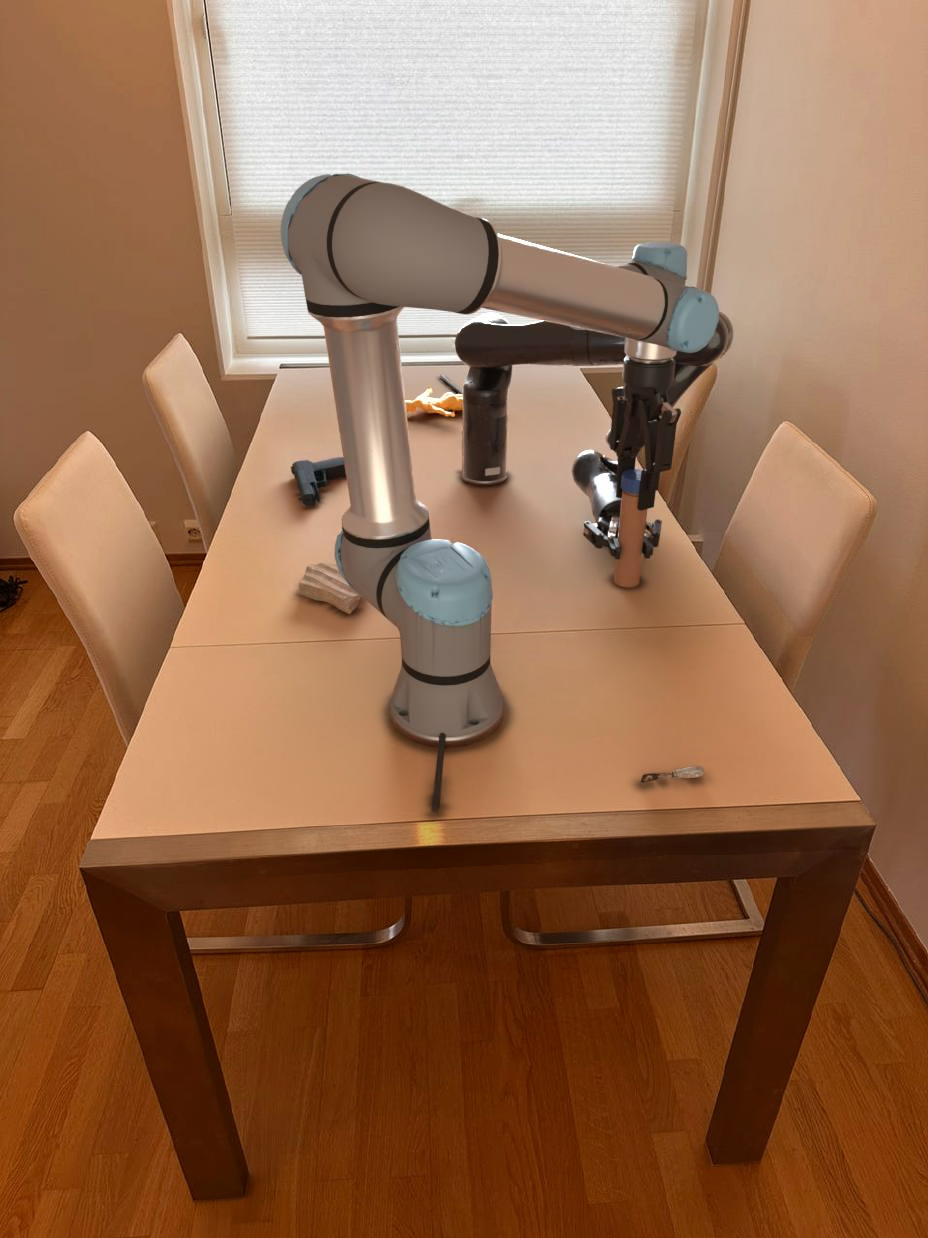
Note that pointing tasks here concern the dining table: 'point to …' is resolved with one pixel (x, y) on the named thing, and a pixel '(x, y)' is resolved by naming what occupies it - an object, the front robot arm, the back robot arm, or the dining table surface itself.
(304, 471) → the handgun
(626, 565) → the tall tan cylinder
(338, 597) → the stone
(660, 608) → the dining table surface
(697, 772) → the putty knife
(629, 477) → the lid
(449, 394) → the human figure
